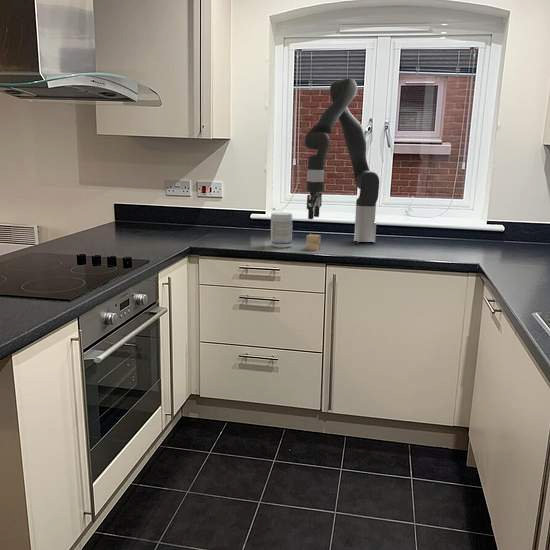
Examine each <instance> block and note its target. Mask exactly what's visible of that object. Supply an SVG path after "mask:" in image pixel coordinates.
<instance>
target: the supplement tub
mask: <svg viewBox="0 0 550 550" xmlns="http://www.w3.org/2000/svg"><path fill="white" fill-rule="evenodd" d="M292 245H293V213H291V212H272V213H271V215H270V246H271V247H273V248H279V249H280V248H281V249H282V248H283V249H284V248H285V249H286V248H290V247H292Z"/></svg>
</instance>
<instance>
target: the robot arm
mask: <svg viewBox="0 0 550 550" xmlns="http://www.w3.org/2000/svg"><path fill="white" fill-rule="evenodd" d="M329 92H330V97H331V101H332V103H331V104H330V106H328V107H327V108H326V109H325V110H324V112H322V114H321V116H320V118H319V119H318V121H317V123H316V124H315V125H314V126H313V127H311V129H310V130H309V131H308V132H307V133H306V135H305V138H304V145H305V147H306V148H307V149H308V150H317V151H316V154H312V155H310V156H308V159H307V171H306V184H305V185H306V188H305V191H306V192H309V194H307V197H306V210H307V211H308V212H307V215H308V216H307V218H308V220H313V219H314V218H319V217H320V209H321V207H322V197H323V196H322V195H323V194H322V192H324V190H325V189H324V188H325V160H326V157H327V155H328V150H329V148H330V147H329V146H330V143H331V141H330V136H329V135H330V134H331V133H332V131H333V129H334V128H335V126H336V124H337V122H338V120H339V122H340V126H341V131H342V134H343V139H344V142H345V145H346V148H347V152H348V155H349V159H350V161H351V166H352V171H353V177H354V182H355V185H356V187H357V188H358V189H359V196H358V198H357V199H356V202H355V216H354V221H355V222H354V236H353V241H354V242H355V241H357V242H356V243H359V242H373V243H376V235H377V234H376V233H377V232H376V231H377V222H376V209H377V201H378V199H379V192H380V178H379V175H378V174H377V172H375V171H372V170H370V168H369V164H368V161H367V160H368V159H367V140H366V135H365V132H364V128H363V126H362V124H361V123H360V121H359V120H358V119H357V118H356V117H355V116H354V115H353V114H352V112H351V111H350V109H349V107H348V106H349V105H350V104H351V103H352V101H353V100H354V99H355V98H356V96H357V93H358V86H357V82H356V80H354V78H352V77H351V78H350V77H347V78H344V79H340V80H337V81H334V82H331V84H330V87H329Z"/></svg>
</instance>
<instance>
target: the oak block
mask: <svg viewBox="0 0 550 550" xmlns="http://www.w3.org/2000/svg"><path fill="white" fill-rule="evenodd" d="M305 241H306V242H305V250H310V251H318V250H320V249H321V234H312V233H309V234H308V235H306V239H305ZM319 248H320V249H319Z"/></svg>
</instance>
